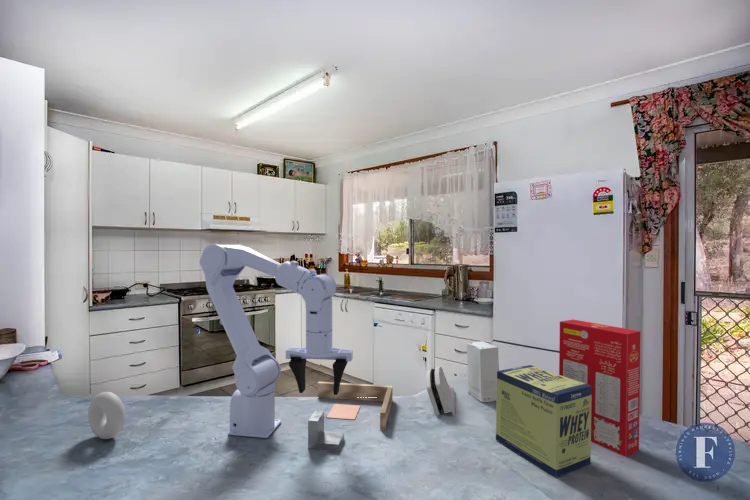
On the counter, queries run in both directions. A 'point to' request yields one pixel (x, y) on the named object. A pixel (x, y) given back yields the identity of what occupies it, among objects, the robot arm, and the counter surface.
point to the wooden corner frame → (360, 395)
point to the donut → (106, 415)
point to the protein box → (544, 418)
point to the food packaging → (606, 379)
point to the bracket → (322, 434)
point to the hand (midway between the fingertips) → (319, 392)
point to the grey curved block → (440, 391)
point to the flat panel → (344, 411)
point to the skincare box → (482, 370)
